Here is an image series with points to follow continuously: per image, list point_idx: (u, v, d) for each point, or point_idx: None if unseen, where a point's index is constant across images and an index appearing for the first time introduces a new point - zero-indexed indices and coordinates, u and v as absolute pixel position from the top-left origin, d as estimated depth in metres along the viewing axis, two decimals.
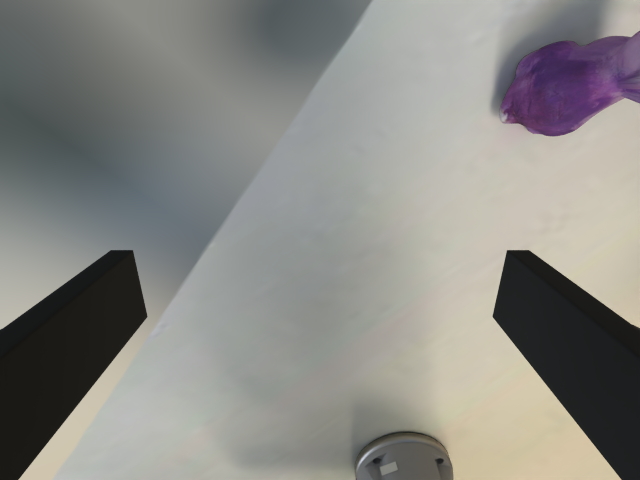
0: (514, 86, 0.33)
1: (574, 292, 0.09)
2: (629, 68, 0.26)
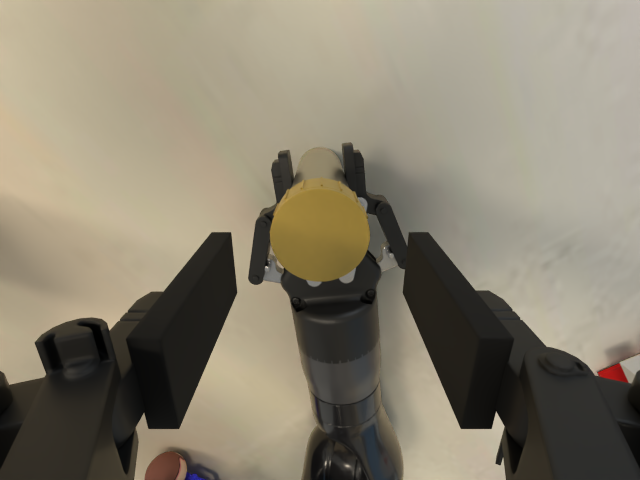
0: None
1: (442, 264, 0.11)
2: None
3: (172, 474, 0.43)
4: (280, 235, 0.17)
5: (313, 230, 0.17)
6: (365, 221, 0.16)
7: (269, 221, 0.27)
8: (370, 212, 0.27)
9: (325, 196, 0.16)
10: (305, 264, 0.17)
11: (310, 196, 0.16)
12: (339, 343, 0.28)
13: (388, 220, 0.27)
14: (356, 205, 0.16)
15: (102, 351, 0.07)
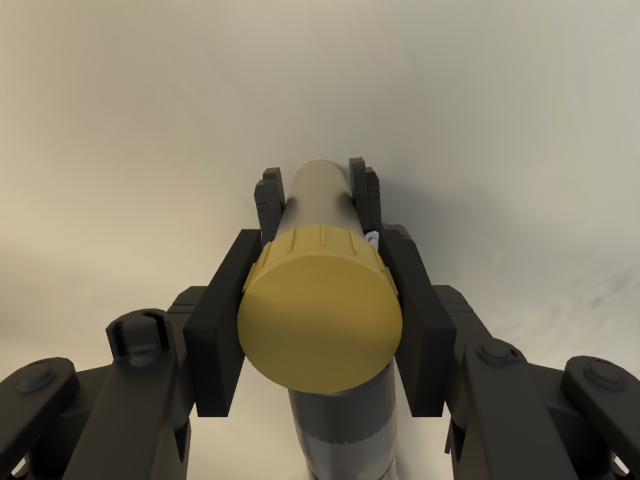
0: None
1: (405, 259, 0.11)
2: None
3: None
4: (253, 326, 0.10)
5: (308, 319, 0.10)
6: (396, 305, 0.10)
7: None
8: None
9: (329, 266, 0.09)
10: (296, 369, 0.11)
11: (303, 266, 0.09)
12: (345, 420, 0.21)
13: None
14: (382, 280, 0.09)
15: (163, 341, 0.08)
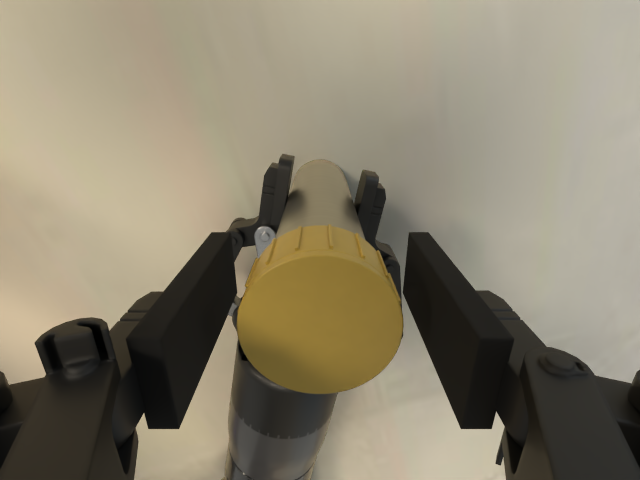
0: None
1: (443, 264, 0.11)
2: None
3: None
4: (310, 381, 0.11)
5: (305, 339, 0.10)
6: (296, 261, 0.09)
7: (241, 240, 0.20)
8: None
9: (249, 318, 0.10)
10: (365, 354, 0.10)
11: (248, 338, 0.10)
12: (285, 416, 0.21)
13: None
14: (266, 274, 0.09)
15: (101, 351, 0.07)
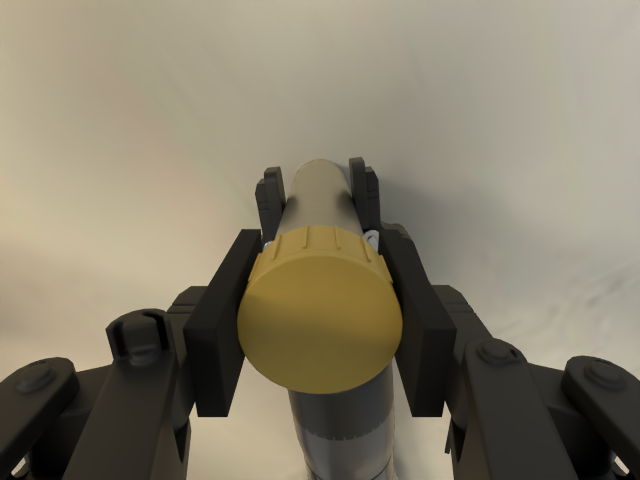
0: None
1: (405, 259, 0.11)
2: None
3: None
4: (328, 381, 0.11)
5: (309, 342, 0.10)
6: (272, 270, 0.09)
7: None
8: None
9: (249, 336, 0.10)
10: (372, 342, 0.10)
11: (255, 354, 0.10)
12: (344, 417, 0.21)
13: None
14: (249, 290, 0.10)
15: (162, 342, 0.08)
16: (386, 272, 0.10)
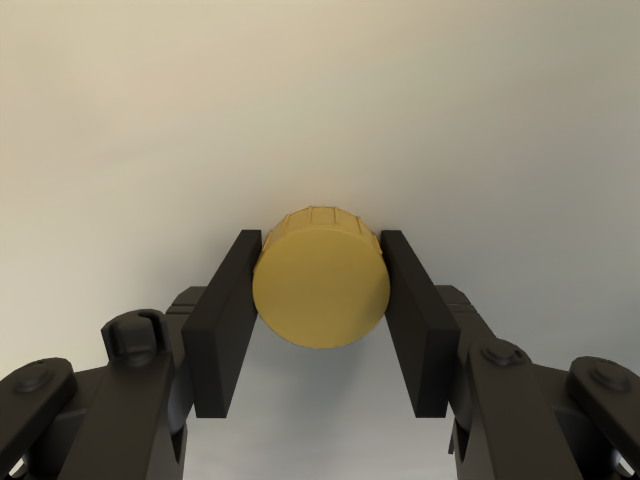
0: None
1: (407, 259, 0.11)
2: None
3: None
4: (328, 337, 0.13)
5: (312, 302, 0.12)
6: (282, 241, 0.11)
7: None
8: None
9: (262, 297, 0.12)
10: (364, 303, 0.12)
11: (267, 313, 0.12)
12: None
13: None
14: (263, 257, 0.12)
15: (158, 342, 0.08)
16: (377, 245, 0.12)
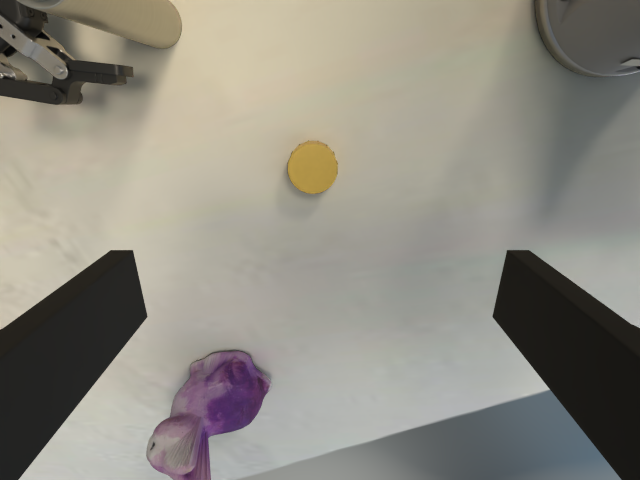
0: None
1: (574, 292, 0.09)
2: None
3: None
4: (315, 188, 0.34)
5: (309, 173, 0.34)
6: (299, 148, 0.33)
7: None
8: (53, 82, 0.26)
9: (291, 171, 0.34)
10: (328, 173, 0.34)
11: (293, 178, 0.34)
12: None
13: (42, 94, 0.26)
14: (292, 155, 0.33)
15: None
16: (333, 153, 0.34)
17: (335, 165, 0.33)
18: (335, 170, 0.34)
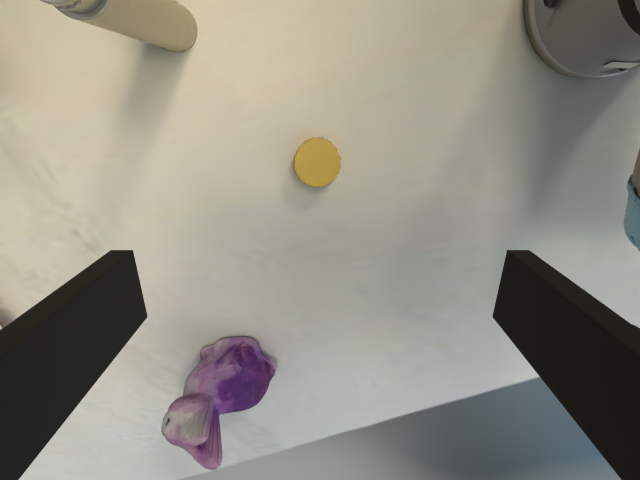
0: None
1: (574, 292, 0.09)
2: None
3: None
4: (320, 182, 0.37)
5: (314, 167, 0.36)
6: (304, 144, 0.35)
7: None
8: None
9: (297, 165, 0.36)
10: (332, 168, 0.36)
11: (299, 172, 0.36)
12: None
13: None
14: (298, 151, 0.36)
15: None
16: (336, 149, 0.36)
17: (338, 160, 0.36)
18: (338, 165, 0.36)
